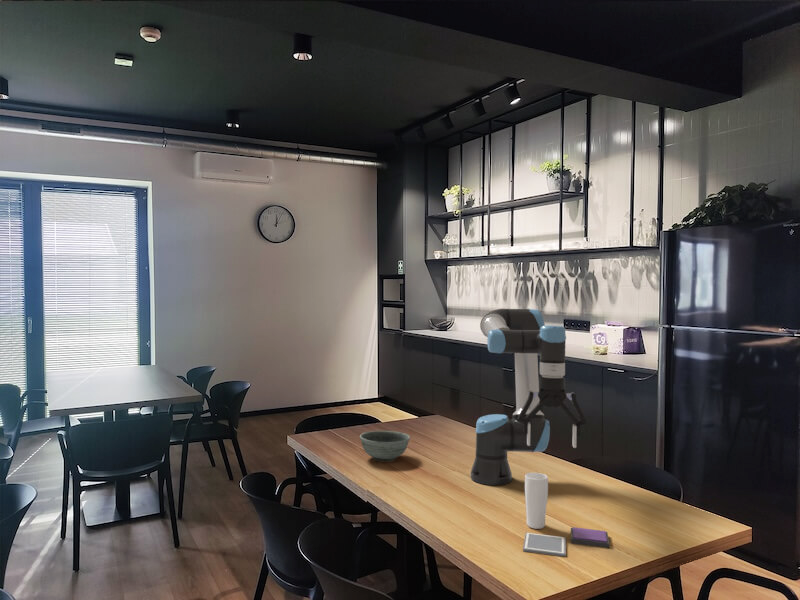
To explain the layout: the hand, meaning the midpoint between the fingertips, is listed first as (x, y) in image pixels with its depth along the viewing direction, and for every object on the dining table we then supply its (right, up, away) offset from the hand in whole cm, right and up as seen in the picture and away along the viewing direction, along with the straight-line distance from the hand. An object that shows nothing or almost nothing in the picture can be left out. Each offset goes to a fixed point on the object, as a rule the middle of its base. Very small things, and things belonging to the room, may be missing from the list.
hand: (551, 445), depth 174 cm
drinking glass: (-6, -23, -4) cm, 24 cm away
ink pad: (+7, -23, -13) cm, 28 cm away
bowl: (-53, -21, +61) cm, 83 cm away
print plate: (-6, -23, -17) cm, 29 cm away
